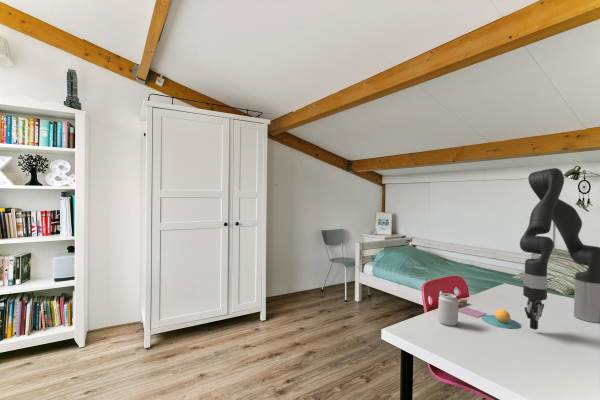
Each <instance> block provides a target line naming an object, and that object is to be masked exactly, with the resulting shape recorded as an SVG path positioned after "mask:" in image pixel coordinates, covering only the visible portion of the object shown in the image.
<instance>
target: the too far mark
mask: <svg viewBox="0 0 600 400" xmlns="http://www.w3.org/2000/svg"><path fill="white" fill-rule="evenodd" d="M458 313H461V314H465V315H468V316H471V317H473V318H480V317H481V318H482V316H484V315H488V313H487V312H483V311H481V310H477V309H474V308H470V307H465V308H462V309H461V308H460V309H458Z"/></svg>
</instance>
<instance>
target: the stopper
mask: <svg viewBox="0 0 600 400" xmlns="http://www.w3.org/2000/svg"><path fill="white" fill-rule="evenodd" d="M457 299H458V308H459V307H463V306H466V305H467V304H468V299H467V298H465V297H461V298H457Z"/></svg>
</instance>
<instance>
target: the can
mask: <svg viewBox="0 0 600 400" xmlns="http://www.w3.org/2000/svg"><path fill="white" fill-rule="evenodd" d="M458 299H459V298H457V296H456V295H455V294H453V293H448V292H443V293H440V295H439V296H438V309H437V310H438V311H437V313H438V314H437V315H438V316H437V320H438V322H439V323H440V324H442V325H443V326H447V327H455V326H456V325H458V323H459V312H458V310H459V307H458Z"/></svg>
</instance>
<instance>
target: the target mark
mask: <svg viewBox="0 0 600 400" xmlns="http://www.w3.org/2000/svg"><path fill="white" fill-rule="evenodd" d="M481 320H482V321H483V322H485V323H487V324H489V325H491V326H493V327H494V326H495V327H497V328H502V329H513V330H517V329H520V328H521V327H522V326H521V323H520V322H517V321H516V320H514V319H511V318H510V321H509V322H507V323H502V322H499V321H498V320H497V319H496V317H495V314H486V315H483V316H481Z"/></svg>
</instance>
